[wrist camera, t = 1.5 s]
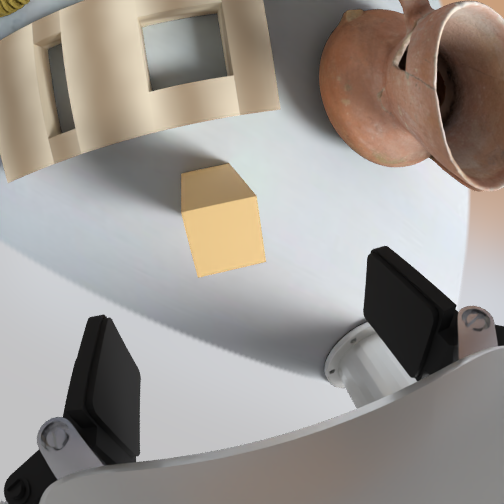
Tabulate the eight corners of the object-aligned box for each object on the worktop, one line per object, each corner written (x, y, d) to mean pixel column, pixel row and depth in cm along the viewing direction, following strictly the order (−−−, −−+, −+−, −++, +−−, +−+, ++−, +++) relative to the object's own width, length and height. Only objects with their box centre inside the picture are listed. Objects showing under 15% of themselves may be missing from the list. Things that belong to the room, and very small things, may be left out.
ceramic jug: (263, 48, 21) (350, -2, 9) (378, -12, 19) (487, -46, 7) (368, 205, 30) (469, 275, 17) (453, 132, 28) (555, 165, 15)
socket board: (248, -19, 18) (256, -32, 15) (269, 109, 24) (280, 109, 21) (2, 52, 15) (-15, 49, 13) (23, 174, 21) (7, 183, 18)
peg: (229, 163, 25) (256, 196, 16) (236, 207, 27) (266, 261, 18) (181, 173, 24) (181, 212, 16) (191, 217, 26) (197, 277, 18)
